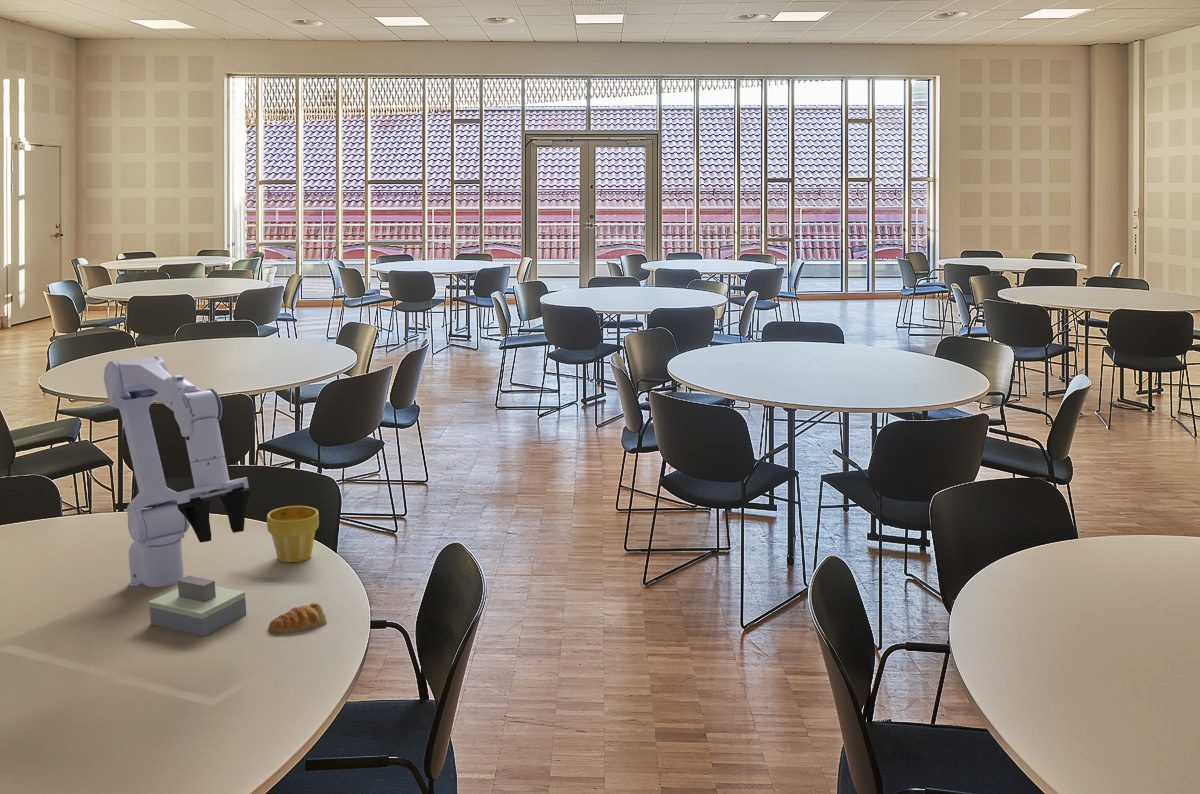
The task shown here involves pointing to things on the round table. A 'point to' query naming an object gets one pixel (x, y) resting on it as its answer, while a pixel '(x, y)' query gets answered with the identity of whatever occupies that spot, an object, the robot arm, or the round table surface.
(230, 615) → the box
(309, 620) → the pastry
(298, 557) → the plant pot
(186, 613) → the lid
